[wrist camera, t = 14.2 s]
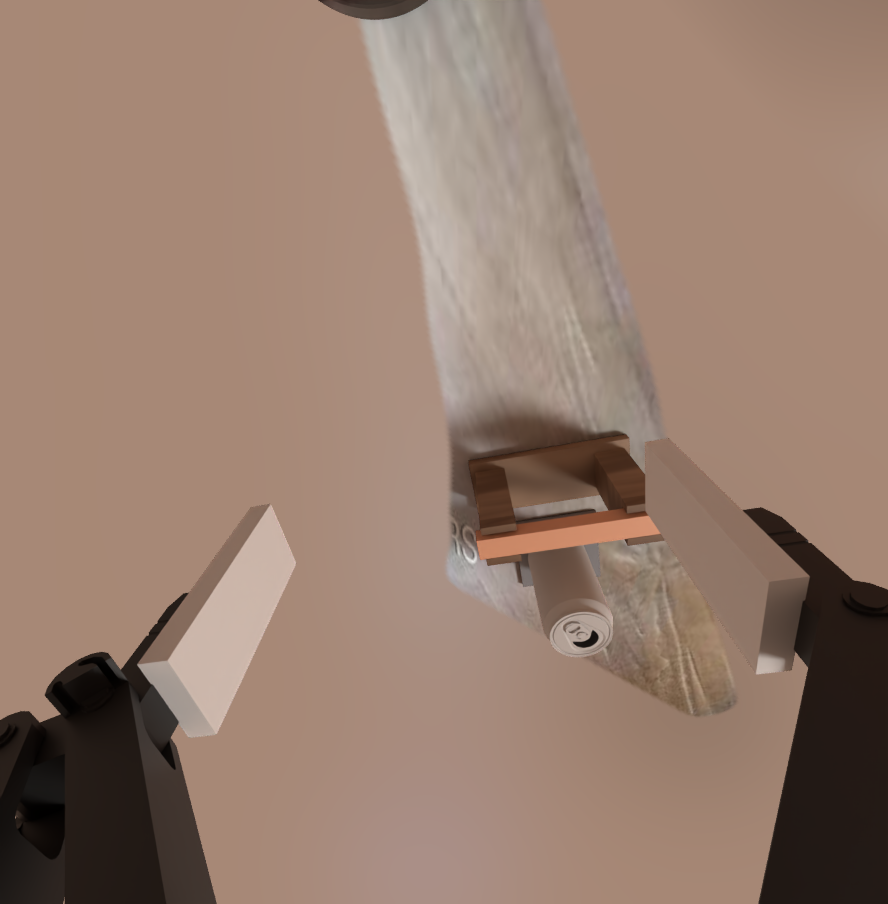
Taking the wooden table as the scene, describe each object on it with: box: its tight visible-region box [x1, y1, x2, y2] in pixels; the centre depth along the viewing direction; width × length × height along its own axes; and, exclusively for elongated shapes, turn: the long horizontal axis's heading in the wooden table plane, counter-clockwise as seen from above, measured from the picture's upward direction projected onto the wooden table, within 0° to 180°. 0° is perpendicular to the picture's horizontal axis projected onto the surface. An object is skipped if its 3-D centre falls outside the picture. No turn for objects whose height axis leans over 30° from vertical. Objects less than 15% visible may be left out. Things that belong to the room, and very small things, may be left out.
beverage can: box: [528, 545, 613, 657], centre depth 46 cm, size 6×6×12 cm
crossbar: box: [476, 508, 661, 560], centre depth 39 cm, size 2×16×2 cm, turn 101°
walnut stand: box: [469, 434, 664, 566], centre depth 43 cm, size 6×16×11 cm, turn 101°
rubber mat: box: [516, 510, 600, 587], centre depth 52 cm, size 9×9×1 cm
